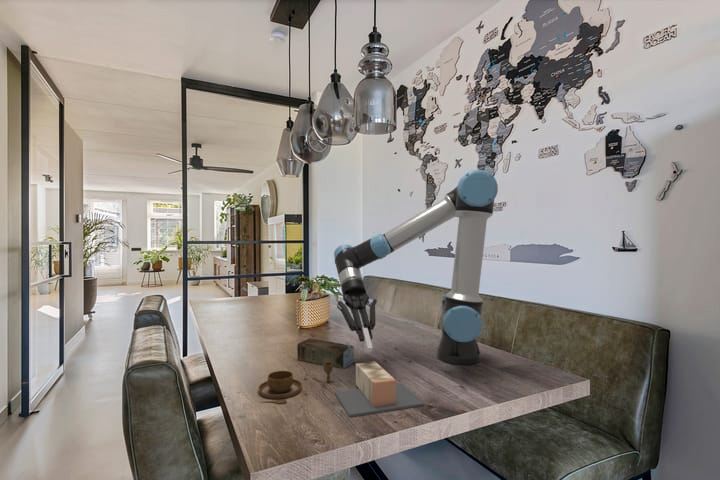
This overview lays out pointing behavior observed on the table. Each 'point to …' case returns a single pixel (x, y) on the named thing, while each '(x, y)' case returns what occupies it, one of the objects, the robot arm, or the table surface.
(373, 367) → the birch block
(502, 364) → the table surface
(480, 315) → the robot arm
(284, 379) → the place setting
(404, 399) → the rubber mat
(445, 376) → the table surface
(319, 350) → the beverage carton
